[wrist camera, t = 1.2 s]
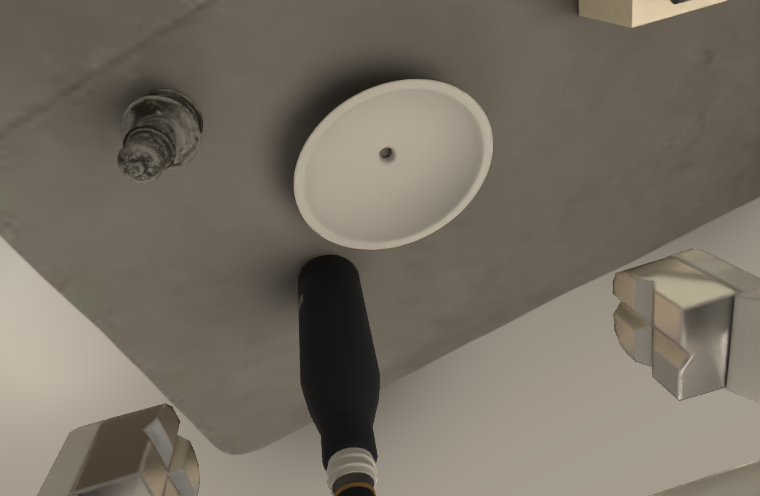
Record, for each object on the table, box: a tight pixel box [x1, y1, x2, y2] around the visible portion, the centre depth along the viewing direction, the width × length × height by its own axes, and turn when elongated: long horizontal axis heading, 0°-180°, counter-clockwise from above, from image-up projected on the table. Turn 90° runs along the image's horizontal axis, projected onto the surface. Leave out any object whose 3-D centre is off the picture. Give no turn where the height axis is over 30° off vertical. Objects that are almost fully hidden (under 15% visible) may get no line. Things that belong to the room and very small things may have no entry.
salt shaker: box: [118, 89, 203, 183], centre depth 38 cm, size 6×6×12 cm
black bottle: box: [298, 255, 380, 496], centre depth 41 cm, size 6×6×30 cm
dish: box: [294, 79, 493, 250], centre depth 46 cm, size 18×14×5 cm
